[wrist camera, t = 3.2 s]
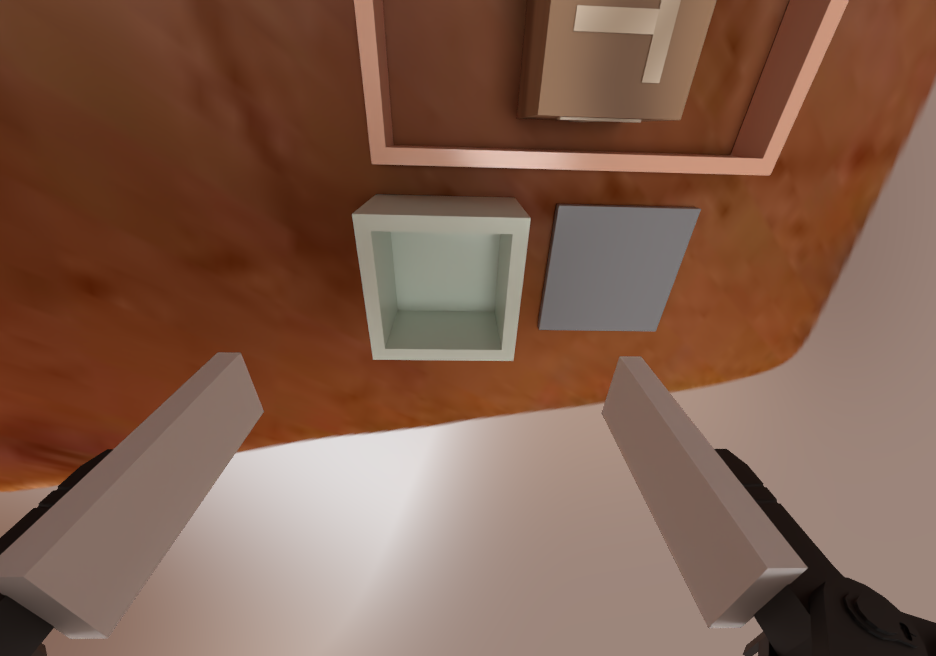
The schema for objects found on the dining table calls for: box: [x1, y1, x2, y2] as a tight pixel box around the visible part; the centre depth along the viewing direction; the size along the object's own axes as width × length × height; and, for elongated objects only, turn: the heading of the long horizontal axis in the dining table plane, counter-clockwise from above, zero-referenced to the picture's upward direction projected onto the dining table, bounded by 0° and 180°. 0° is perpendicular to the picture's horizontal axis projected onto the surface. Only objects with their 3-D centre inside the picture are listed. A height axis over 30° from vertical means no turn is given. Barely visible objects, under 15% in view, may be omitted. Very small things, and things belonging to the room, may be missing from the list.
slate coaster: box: [538, 204, 701, 331], centre depth 23 cm, size 9×9×1 cm
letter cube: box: [517, 0, 716, 122], centre depth 15 cm, size 6×6×6 cm
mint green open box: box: [352, 194, 531, 361], centre depth 21 cm, size 9×9×6 cm
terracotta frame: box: [354, 0, 849, 175], centre depth 16 cm, size 22×11×2 cm, turn 88°
